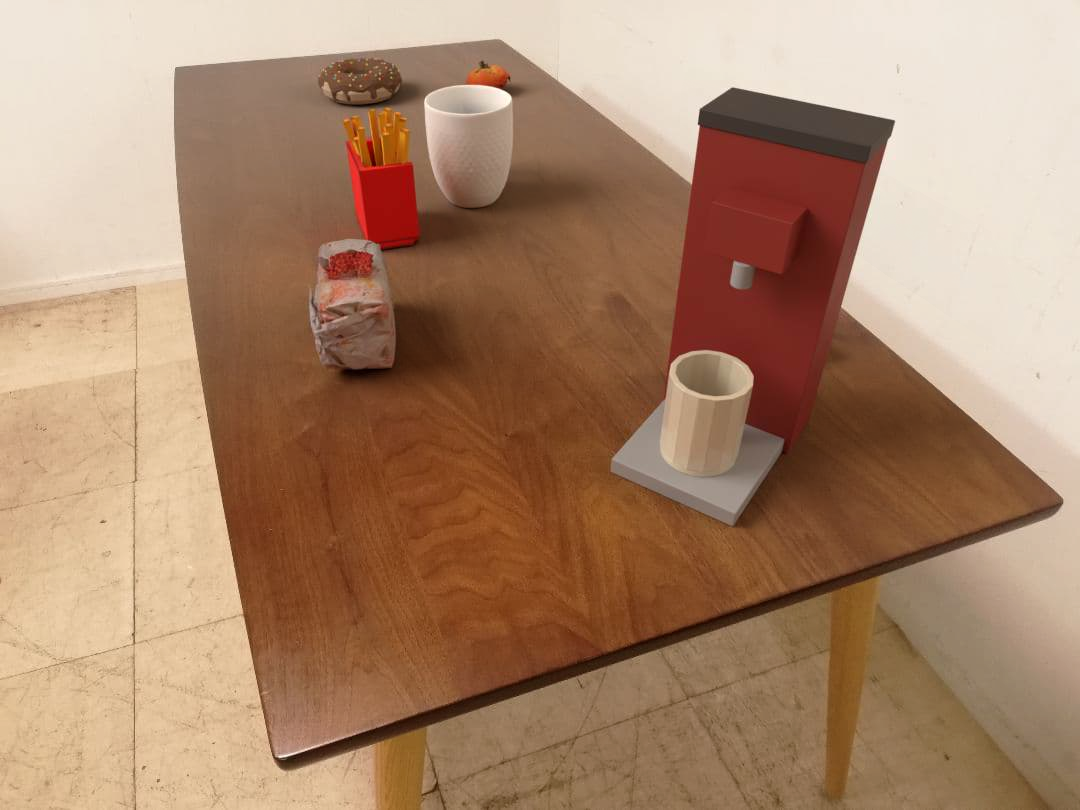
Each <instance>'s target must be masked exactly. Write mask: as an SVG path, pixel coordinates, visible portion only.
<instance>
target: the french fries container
mask: <svg viewBox="0 0 1080 810" xmlns="http://www.w3.org/2000/svg"><path fill="white" fill-rule="evenodd" d="M367 112H368V120H369V126H370V133H371V138H367V136H366V129H365V126H364V125H362V121H361V118H360V115H353V116H350V117H349V118H348V117H347V118H344V119H342V120H341V122H342V125H343V127H344V130H345V132H346V135H347V137H348V140H347V141H345V146H346V152H347V160H348V166H349V174H350V180H351V187H352V196H353V201H354V208H355V215H356V216H355V217H356V220H357V222H358V225H359V228H360V230H361V233H362V236H363V238H364V240H368V241H372V242H374V243H375V244H379V245H380V250H381V251H382V250H387V249H393V248H399V247H400V248H401V247H407V246H413V245H415V242H419V241H420V240H419V239H420V225H419V215H418V205H417V194H416V183H415V172H414V164H413V162H412V161H409V155H410V154H409V152H410V136H411V135H410V134H411V130H410V129H409V128H407V117H402V116H403V114H402V113H401V112H400V111H393V108H390V107H383V108H382V112H379V113H378V112H377V111H376V109H375V108H373V109H367Z"/></svg>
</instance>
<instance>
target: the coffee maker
mask: <svg viewBox="0 0 1080 810" xmlns="http://www.w3.org/2000/svg"><path fill="white" fill-rule="evenodd" d="M895 123H896V120H895V119H890V118H887V117H886V118H885V117H881V116H877V115H871V114H867V113H861V112H857V111H852V110H847V109H842V108H836V107H831V106H826V105H822V104H817V103H813V102H807V101H802V100H799V99H798V100H797V99H792V98H788V97H784V96H783V97H782V96H779V95H778V96H777V95H774V94H767V93H763V92H758V91H754V90H748V89H744V88H740V87H733V86H732V87H730V88H729V89H727V90H726V91H724V92H722V93H721V94H720V95H718V96H717V97H715V98H714V99H712V100H711V101H709V102H708V103H706V104H705V105H703V106H702V107H700V108H699V111H698V120H697V126H699V129H698V135H697V141H696V142H697V144H696V149H695V150H696V151H695V158H694V165H693V174H692V179H691V187H690V195H689V202H688V203H689V204H688V211H687V219H686V226H685V234H684V241H683V247H682V248H683V250H682V257H681V264H680V272H679V279H678V287H677V294H676V303H675V310H674V317H673V323H672V324H673V326H672V332H671V339H670V347H669V356H668V362H667V369H666V370H667V371H666V378H665V385H664V394H663V400H662V401H661V403H660V404H659V405H658V406H657V407H656V408H655V410H654V411H653V412H652V413H651V414H650V415H649V417H648V418H646V419H645V421H644V422H643V423H642V424H641V425H640V427H638V429H636V431H635V432H634V433H633V435H631V437H630V438H629V439H628V440H627V441H626V442H625V443H624V444H623V445H622V447H620V449H619V450H618V451H617V452H616V453H615V455H614V456H613V457H612V458H611V463H610V473H612V474H614V475H617V476H619V477H621V478H622V479H626V480H628V481H630V482H632V483H634V484H637V485H639V486H641V487H643V488H646V489H648V490H649V491H652V492H654V493H657V494H658V495H661V496H663V497H666V498H668V499H669V500H672V501H673V502H674V501H675V502H677V503H679V504H681V505H684V506H686V507H688V508H690V509H692V510H694V511H696V512H699V513H701V514H703V515H706V516H708V517H710V518H712V519H714V520H717V521H719V522H721V523H723V524H726V525H727V526H730V527H734V526H735V525H736V523H737V521H738V520H739V518H740V516H741V515H742V513H743V512H744V510H745V509H746V507H747V506H748V504H749V503H750V501H751V500H752V498H753V497H754V495H755V493H756V492H757V490H758V489H759V487H761V485H762V483H763V481H764V480H765V478H766V477H767V475H768V473H769V472H770V470H771V469H772V467H773V466H774V465H775V463H776V461H777V460H778V458H780V456H781V454H782V453H784V454H789V453H790V451H791V449H792V448H793V446H794V444H795V443H796V441H797V440H798V438H799V437H800V435H801V434H802V432H803V431H804V429H805V427H806V426H807V424H808V423H809V422H810V419H811V415H812V412H813V408H814V405H815V401H816V399H817V394H818V390H819V387H820V383H821V379H822V376H823V372H824V369H825V365H826V362H827V358H828V356H829V352H830V349H831V344H832V340H833V336H834V333H835V330H836V326H837V324H838V323H837V322H838V319H839V315H840V312H841V309H842V305H843V301H844V298H845V295H846V291H847V288H848V284H849V280H850V277H851V273H852V270H853V266H854V262H855V259H856V255H857V252H858V248H859V245H860V241H861V238H862V233H863V231H864V227H865V223H866V220H867V216H868V214H869V213H868V212H869V208H870V205H871V202H872V199H873V195H874V191H875V188H876V184H877V180H878V178H879V173H880V169H881V167H882V163H883V159H884V155H885V152H886V149H887V145H888V141H889V139H890V138H891V137H892V134H893V130H894V127H895ZM701 350H710V351H717V352H722V353H726V354H728V355H731V356H734V357H736V358H738V359H739V360H741V361H742V362H743V363H745V364H746V365H747V366H748V367H749V369H750V370H751V372H752V374H753V376H754V380H753V388H752V393H751V397H750V402H749V407H748V411H747V416H746V420H745V425H744V430H743V434H742V439H741V443H740V448H739V453H738V456H737V460H736V462H735V464H734V465H733V467H732V468H731V469H729V470H728V471H727V472H725V473H723V474H720V475H717V476H712V477H697V476H691V475H687V474H684V473H682V472H679V471H678V470H676V469H674V468H673V467H671V466H670V465H669V464H668V463H667V462H666V461H665V460H664V458H663V457H662V455H661V452H660V437H661V430H662V423H663V415H664V408H665V400H666V393H667V385H668V378H669V371H670V366H671V363H672V362H673V361H674V360H675V359H677V358H678V357H679V356H680V355H683V354H686V353H688V352H692V351H701Z"/></svg>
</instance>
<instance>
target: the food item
mask: <svg viewBox="0 0 1080 810" xmlns="http://www.w3.org/2000/svg"><path fill="white" fill-rule="evenodd" d="M317 255H318V267H317V273H316V274H317V284H316V285H315V290H314V291H315V292H314V291H313V287H312V284H311V283H309V286H308V290H309V293H308V300H309V301H308V303H309V306H308V310H309V321H310V326H311V327H310V328H311V331H312V332H311V333H312V335H313V337H314V339H315V340H314V342H315V348H316V352H317V354H318V357H319V359H320V363H321V365H322V366H323V367H324V368H325V369H326V370H327V371H328V370H329V369H331V370H332V371H335V370H345V371H346V370H353V371H356V370H359V371H360V370H376V369H379V370H381V369H392V368H393V365H394V364H395V356H396V342H397V332H396V321H395V320H396V319H395V312H394V309H395V308H396V305H395V303H393V298H392V291H391V287H390V282H389V280H388V279H389V278H388V276H387V275H388V274H387V270H386V269H387V268H388V266H387V263H386V258H385V257H384V254H383V252H382V249H381V250H380V245H379V244H375V243H374V242H372V241H368V240H365V239H357V238H345V239H340V240H333V241H329V242H324V243H323V244H321V245H320V246H319V247H318V253H317ZM313 293H314V295H313Z"/></svg>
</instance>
